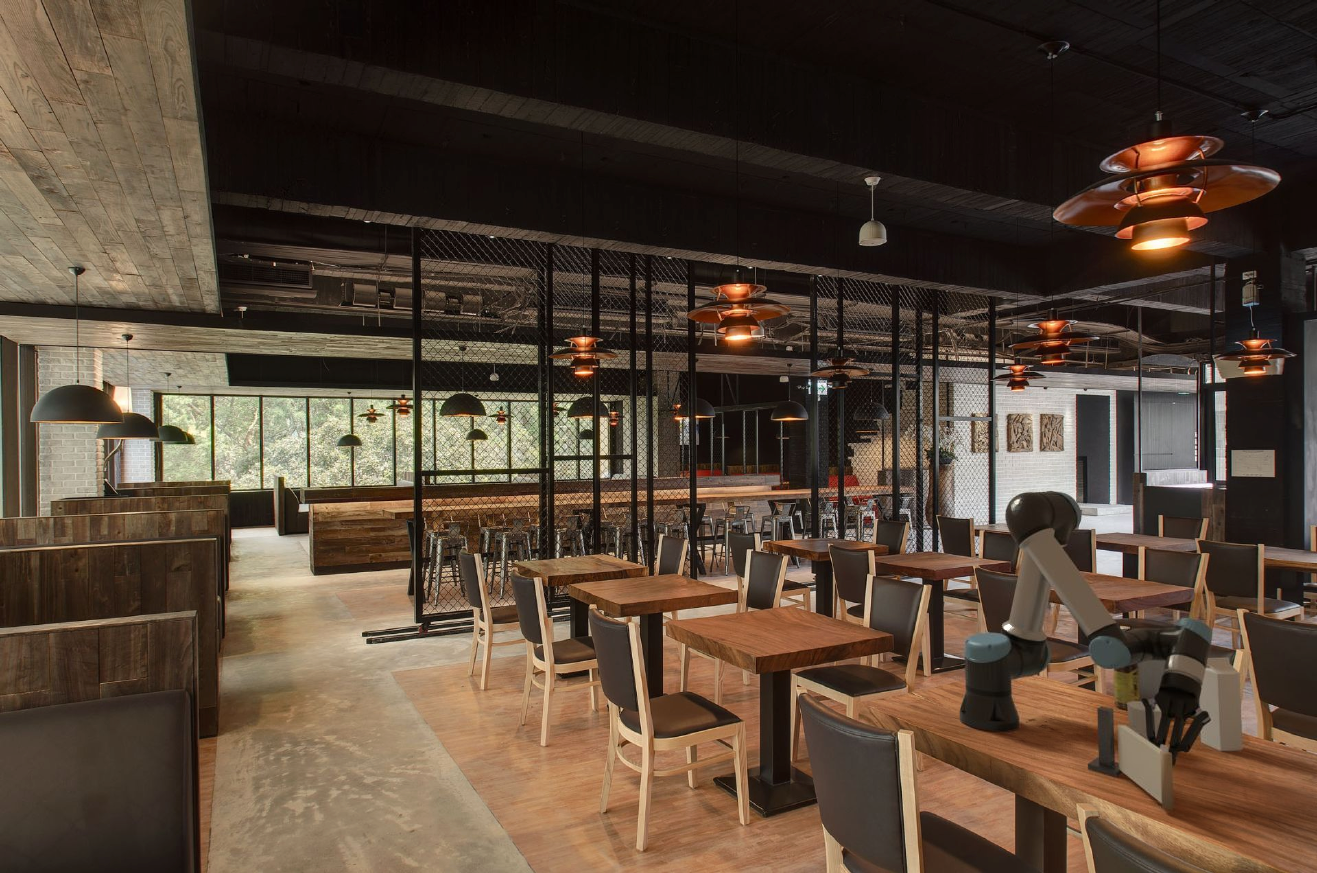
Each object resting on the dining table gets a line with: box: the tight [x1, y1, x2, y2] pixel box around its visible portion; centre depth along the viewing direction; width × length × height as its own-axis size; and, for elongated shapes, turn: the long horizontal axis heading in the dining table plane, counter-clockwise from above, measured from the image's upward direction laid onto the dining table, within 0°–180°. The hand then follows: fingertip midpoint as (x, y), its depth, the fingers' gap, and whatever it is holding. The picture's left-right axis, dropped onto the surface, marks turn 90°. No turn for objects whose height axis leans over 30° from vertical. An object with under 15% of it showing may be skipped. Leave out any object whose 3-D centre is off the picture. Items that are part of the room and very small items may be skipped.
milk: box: [1199, 657, 1243, 752], centre depth 186 cm, size 6×6×22 cm
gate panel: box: [1117, 724, 1175, 811], centre depth 159 cm, size 19×2×11 cm, turn 174°
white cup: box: [1127, 700, 1161, 741], centre depth 186 cm, size 8×8×10 cm
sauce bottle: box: [1112, 663, 1141, 711], centre depth 215 cm, size 7×6×20 cm
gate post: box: [1087, 705, 1124, 778], centre depth 172 cm, size 6×6×14 cm
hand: (1160, 775), depth 157 cm, fingers closed
